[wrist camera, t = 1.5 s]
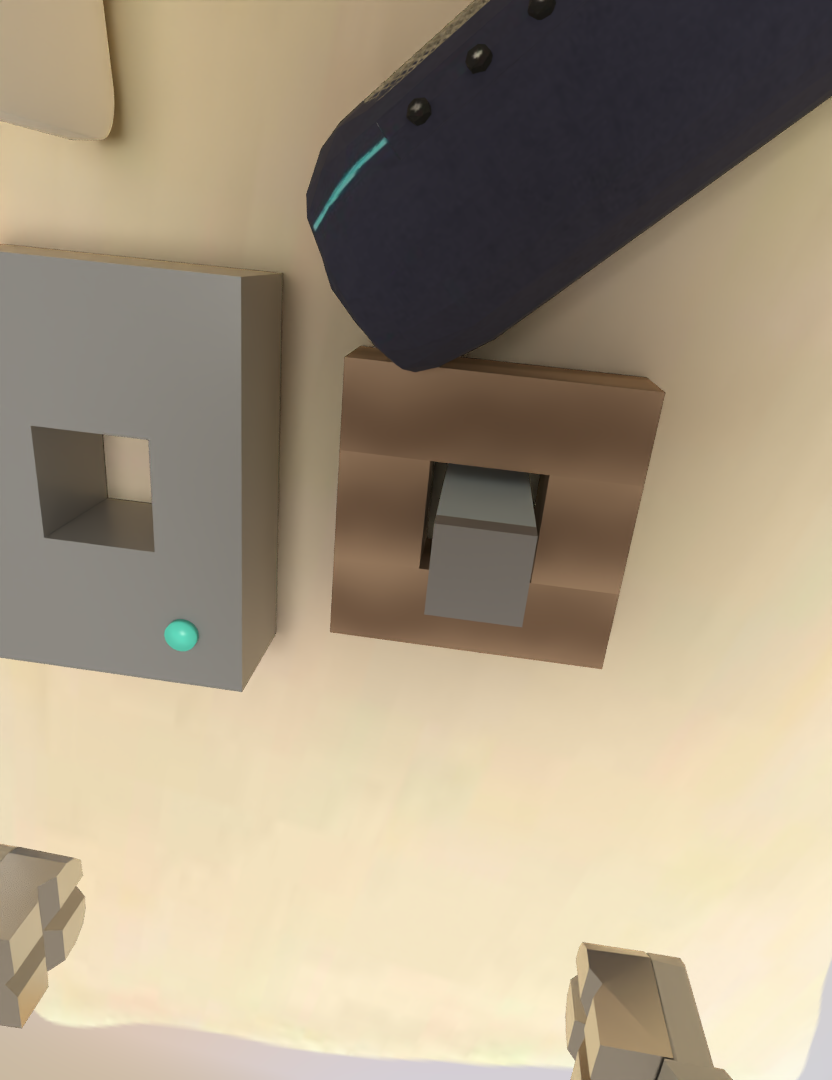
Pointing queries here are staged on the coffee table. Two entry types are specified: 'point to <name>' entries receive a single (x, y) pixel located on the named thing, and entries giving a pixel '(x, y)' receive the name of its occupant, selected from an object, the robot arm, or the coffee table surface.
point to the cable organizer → (56, 68)
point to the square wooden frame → (501, 443)
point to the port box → (175, 464)
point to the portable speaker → (545, 152)
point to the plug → (482, 546)
